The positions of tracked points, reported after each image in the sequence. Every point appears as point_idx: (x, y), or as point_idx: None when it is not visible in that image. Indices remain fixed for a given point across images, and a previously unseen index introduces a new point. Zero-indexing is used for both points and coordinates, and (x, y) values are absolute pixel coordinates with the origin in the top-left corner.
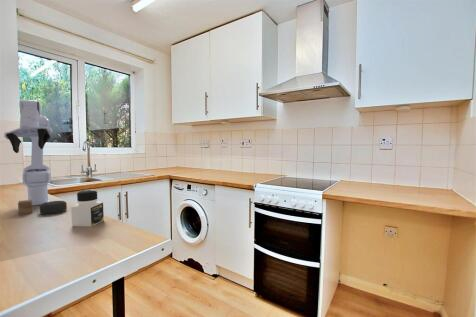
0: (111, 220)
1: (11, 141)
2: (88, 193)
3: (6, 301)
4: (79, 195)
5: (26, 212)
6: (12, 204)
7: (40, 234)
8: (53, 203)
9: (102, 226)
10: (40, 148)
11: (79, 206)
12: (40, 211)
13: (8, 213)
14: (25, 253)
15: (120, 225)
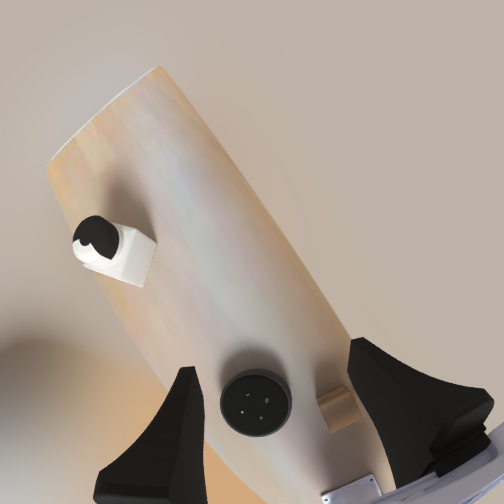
0: None
1: (411, 372)
2: (85, 219)
3: (163, 69)
4: (104, 219)
5: (328, 393)
6: None
7: (200, 206)
8: (249, 397)
9: None
10: (200, 389)
11: (119, 224)
12: (282, 379)
13: None
14: (187, 135)
15: None
